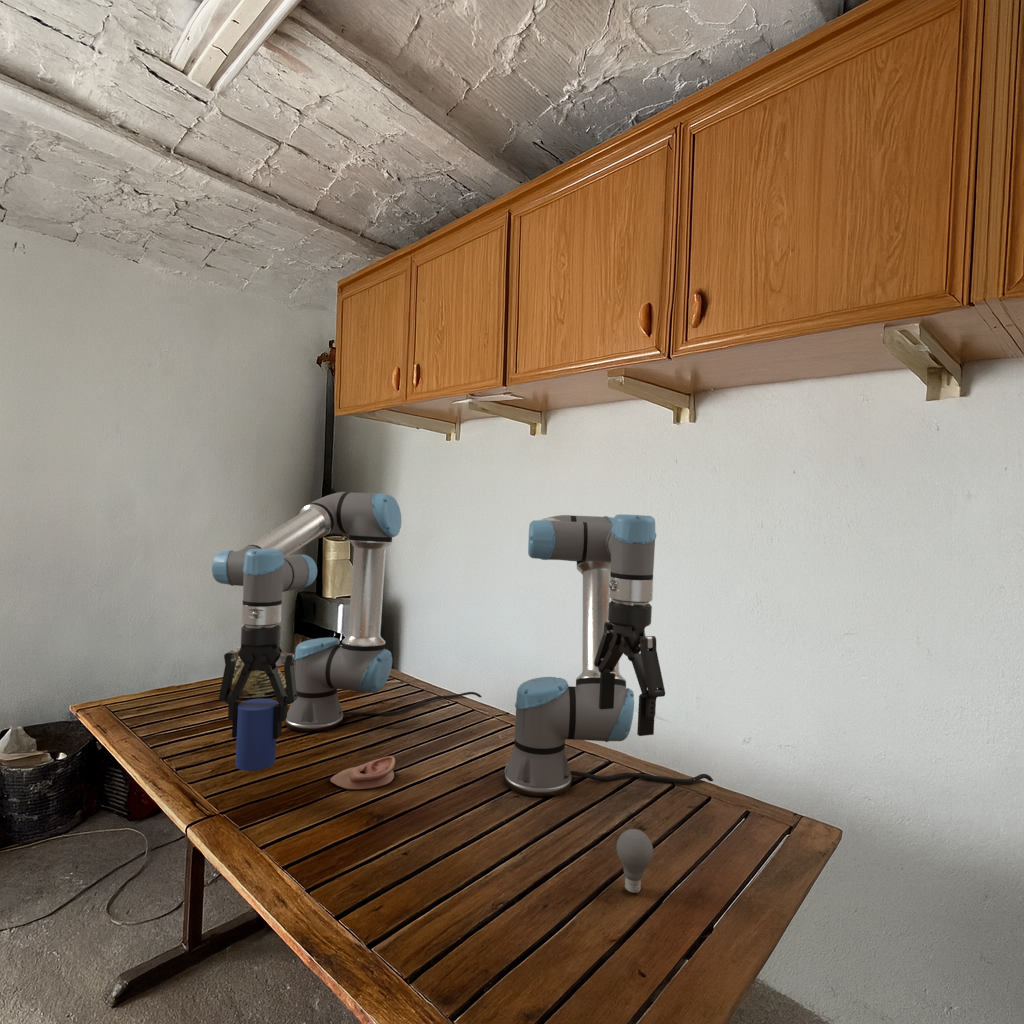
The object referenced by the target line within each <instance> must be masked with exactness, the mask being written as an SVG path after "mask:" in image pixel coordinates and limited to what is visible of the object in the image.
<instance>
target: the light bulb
mask: <svg viewBox="0 0 1024 1024" xmlns="http://www.w3.org/2000/svg"><path fill="white" fill-rule="evenodd" d="M615 849H616V854H617V857H618V859H619V861H620V863H621V865H622V867H623V873H624V874H623V875H624V876H625V878H624V888H625V890H627V891H628V892H630V893H634V894H635V893H639V892H640V891H641V889H642V887H641V886H642V879H643V877H644V875H645V871H646V868H647V867H648V866H649V864H650V863H651V861H652V859H653V855H654V847H653V843H652V841H651V838H649V836H648V835H647V834H646V833H645V832H643V831H642V830H641V829H636V828H629V829H627V830H625V831H623V832H622V833H621V834H620V835H619V837H618V839H617V841H616V847H615Z"/></svg>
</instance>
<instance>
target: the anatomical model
mask: <svg viewBox="0 0 1024 1024" xmlns="http://www.w3.org/2000/svg"><path fill="white" fill-rule="evenodd" d="M395 765H396V759H395V757H394V756H392V755H387V756H384V757H380V758H376V759H373V760H370V761H368V762H364V763H362V764H360V765H358V766H353V767H349V768H346V769H343V770H341V771H339V772H337V773H335V774H334V775H333V776H332V777H330V783H333V785H336V786H338V787H340V788H343V789H345V790H364V789H374V788H377V787H382V786H385V785H388V784H390V783H391V782H392V781H393V779H394V777H395V771H394V768H395Z"/></svg>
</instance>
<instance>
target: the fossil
mask: <svg viewBox="0 0 1024 1024" xmlns="http://www.w3.org/2000/svg"><path fill="white" fill-rule="evenodd" d="M240 647H241V646H238V647H237V648H236V649H235V650H234V651H239V649H240ZM243 666H244V663H243V661H242V660H241V658H240V657H238V660H237V661H236V666H235V671H234V676H233V681H232V686H231V691H230V694H231V693H232V691H233V689H234V687H235V685H236V683H237V681H238V678H239V676H240V674H241V671H242V668H243ZM278 673H279V676H280V678H281V681H282V684H283V686H284V689H285V691H287V689H286V681H285V675H284V674H283V673H282V672H281V669H279V668H278ZM271 696H275V693H274V690H273V688H272V685H271V682H270V680H269V677H268V676H267V675H266V672H265V671H259V670H257V671H252V672H251V673H250V675H249V677H248V680H247V682H246V684H245V686H244V688H243V690H242V692H241V695H240V697H239V698H240V699H250V698H252V699H253V698H264V697H271Z"/></svg>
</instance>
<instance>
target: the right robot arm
mask: <svg viewBox="0 0 1024 1024" xmlns="http://www.w3.org/2000/svg"><path fill="white" fill-rule="evenodd" d="M656 540H657V533H656V519H655V518H654V517H653V516H651V515H644V514H643V515H642V514H624V513H623V514H622V513H621V514H619V513H618V514H615V515H614V516H611V517H610V516H608V515H605V516H598V515H597V516H595V515H571V514H561V515H553V516H548V517H545V518H541V519H539V520H538V519H536V520H532V521H531V522H529V527H528V543H527V544H528V545H527V554H528V556H529V558H531V559H536V560H543V561H549V560H550V561H567V562H576V571H578V572H579V573H580V574H581V575H582V671H581V673H580V674H579V675H578V676H577V677H576V678H575V686H572V685H571V686H570V685H569V683H568V681H567V680H566V679H565V678H562V677H556V676H541V677H535V678H531V679H528V680H526V681H523V682H522V683H521V684H520V685H519V686H518V687H517V690H516V699H515V703H514V708H515V721H514V741H513V748H512V751H511V754H510V756H509V759H508V762H507V764H505V768H504V773H503V774H504V783H505V785H506V786H507V787H508V788H509V789H511V790H512V791H514V792H517V793H519V794H522V795H524V796H528V797H529V796H530V797H536V798H537V797H538V798H539V797H540V798H547V797H548V798H549V797H555V796H558V795H562V794H564V793H566V792H567V791H569V789H571V786H572V776H574V777H580V778H585V779H590V780H594V781H600V782H607V781H615V780H617V779H618V780H619V779H622V778H637V779H645V780H650V781H651V780H652V781H658V782H668V783H675V784H686V785H687V784H693V783H697V782H698V781H700V780H703V779H706V780H707V781H708V782H714V779H713V777H711V776H710V775H709V774H707V773H700V774H698V775H695V776H693V777H692V778H676V777H670V776H669V777H668V776H661V775H653V774H647V773H640V772H619V773H615V774H611V775H596V774H591V773H587V772H582V771H576V770H571V769H570V765H569V762H568V757H567V754H566V740H574V741H590V742H591V741H593V742H604V743H609V742H623V741H625V740H626V739H627V738H628V737H629V735H630V732H631V729H632V725H633V719H634V710H635V694H634V693H635V692H634V691H633V689H632V688H629V687H627V679H626V678H624V676H622V675H621V673H620V659H621V658H622V657H623V655H624V656H626V657H627V659H628V661H629V662H630V663H631V665H632V667H633V670H634V673H635V676H636V679H637V682H638V685H639V689H640V692H641V693H640V694H639V695H638V711H637V730H636V733H637V734H636V735H637V736H638V737H644V736H654V734H655V717H656V710H657V699H658V698H659V697H660V698H661V697H662V698H663V697H665V696H666V690H665V685H664V679H663V675H662V670H661V666H660V661H659V655H658V650H657V637H656V636H655V635H647V636H646V632H645V630H646V628H647V627H649V626H650V625H651V624H652V613H653V612H652V611H653V606H652V605H651V602H652V601H653V599H654V596H653V595H654V570H655V569H654V566H655V550H656V549H655V548H656ZM694 779H695V780H694Z"/></svg>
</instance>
